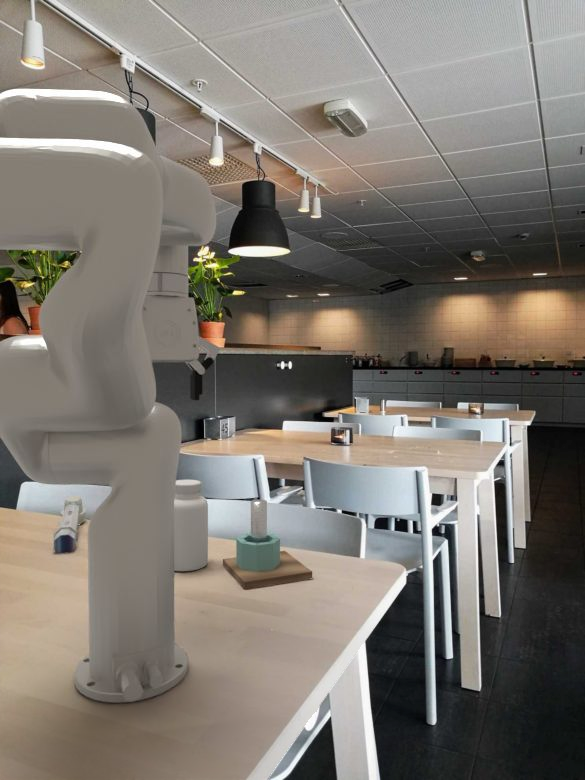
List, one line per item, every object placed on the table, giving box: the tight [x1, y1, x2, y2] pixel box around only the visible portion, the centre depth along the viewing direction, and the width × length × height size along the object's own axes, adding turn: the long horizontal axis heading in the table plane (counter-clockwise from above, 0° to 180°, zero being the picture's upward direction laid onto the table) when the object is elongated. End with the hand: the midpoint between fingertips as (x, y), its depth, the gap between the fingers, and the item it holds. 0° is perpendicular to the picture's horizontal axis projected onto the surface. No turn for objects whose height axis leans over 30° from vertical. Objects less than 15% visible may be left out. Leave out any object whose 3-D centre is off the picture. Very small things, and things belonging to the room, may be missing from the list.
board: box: [222, 550, 313, 590], centre depth 100 cm, size 12×12×1 cm
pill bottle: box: [174, 479, 209, 572], centre depth 103 cm, size 8×8×15 cm
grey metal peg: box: [250, 499, 268, 543], centre depth 100 cm, size 3×3×11 cm
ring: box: [235, 532, 281, 572], centre depth 101 cm, size 7×7×4 cm
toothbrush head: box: [53, 495, 87, 554], centre depth 122 cm, size 5×7×25 cm
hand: (164, 400), depth 89 cm, fingers open, 9 cm apart
